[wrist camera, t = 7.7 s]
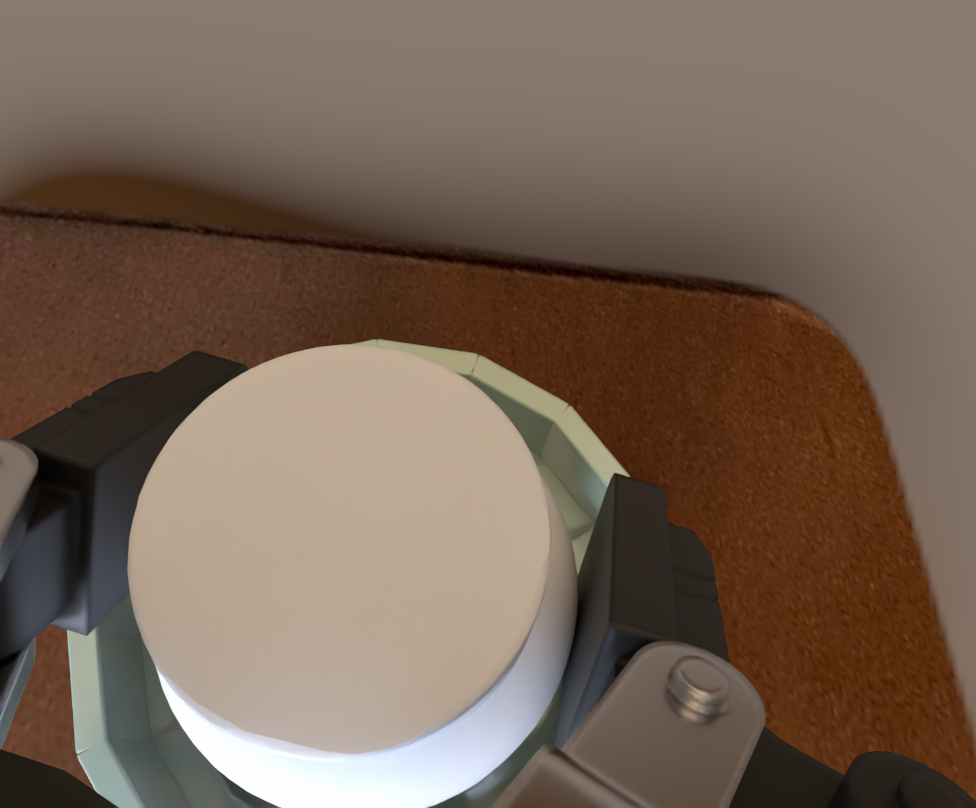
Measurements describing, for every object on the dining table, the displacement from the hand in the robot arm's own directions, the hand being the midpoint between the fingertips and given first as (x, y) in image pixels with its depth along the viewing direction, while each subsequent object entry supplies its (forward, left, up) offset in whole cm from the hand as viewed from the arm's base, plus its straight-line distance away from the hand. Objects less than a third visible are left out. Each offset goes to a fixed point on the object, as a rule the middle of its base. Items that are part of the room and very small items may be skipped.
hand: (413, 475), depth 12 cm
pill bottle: (0, +2, -6) cm, 6 cm away
